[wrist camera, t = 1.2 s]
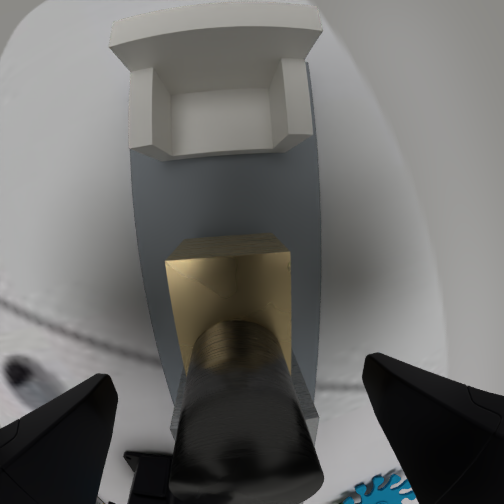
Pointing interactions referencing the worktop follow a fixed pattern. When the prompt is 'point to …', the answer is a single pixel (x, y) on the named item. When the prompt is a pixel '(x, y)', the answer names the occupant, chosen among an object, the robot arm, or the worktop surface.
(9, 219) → the worktop surface
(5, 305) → the worktop surface
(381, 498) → the gear
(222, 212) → the board
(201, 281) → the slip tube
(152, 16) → the socket
